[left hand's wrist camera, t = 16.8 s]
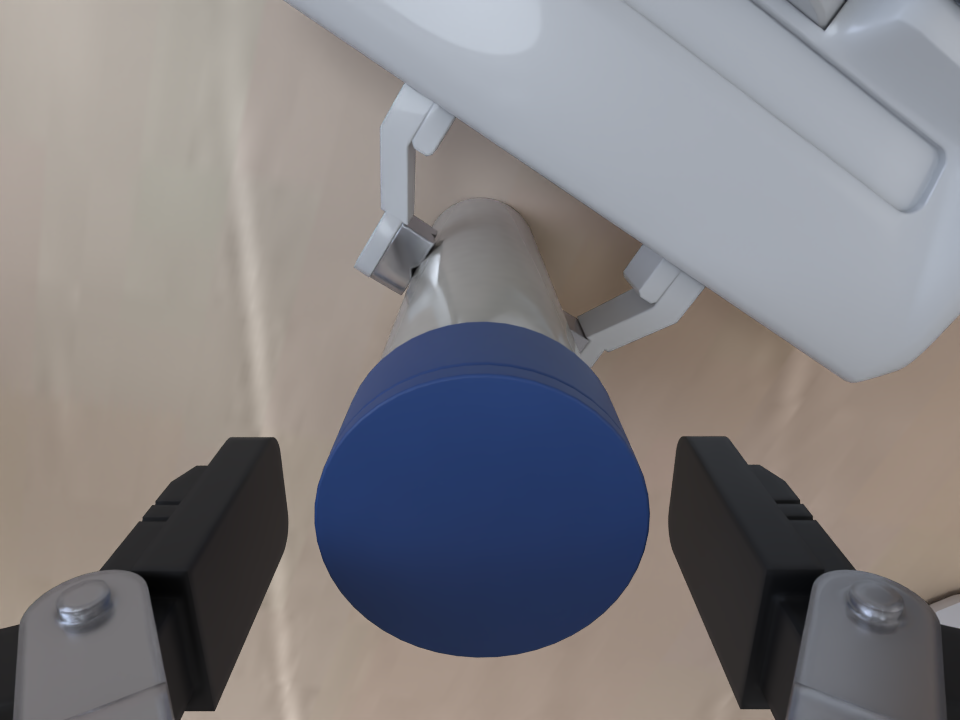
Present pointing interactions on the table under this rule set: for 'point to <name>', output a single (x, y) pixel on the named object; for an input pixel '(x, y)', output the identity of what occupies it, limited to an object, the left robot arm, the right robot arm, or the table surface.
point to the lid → (481, 494)
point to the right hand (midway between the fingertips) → (464, 328)
